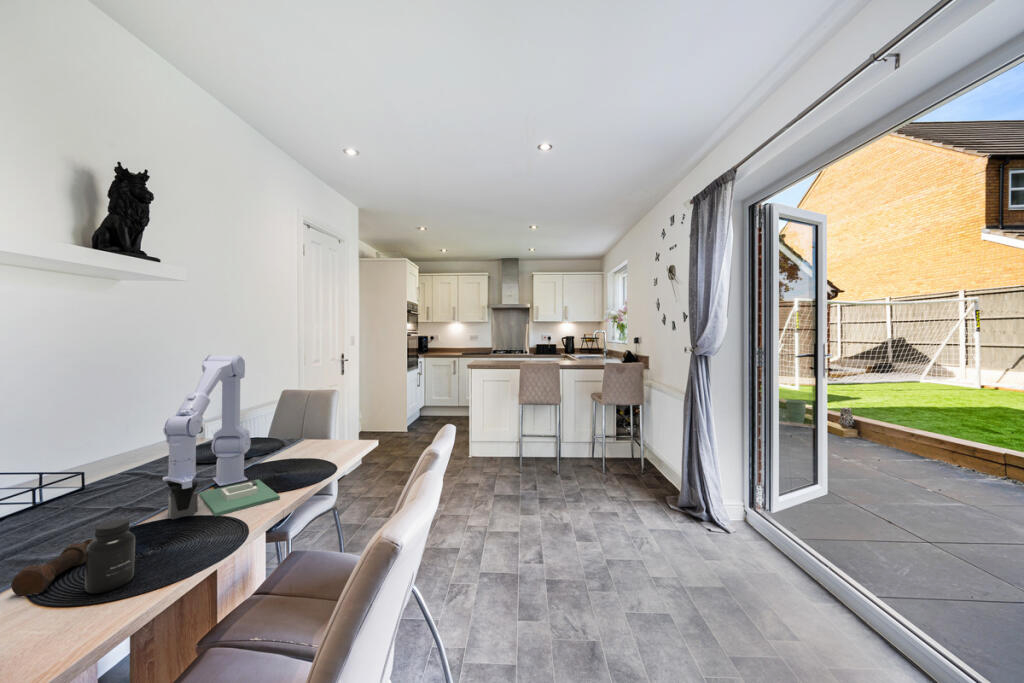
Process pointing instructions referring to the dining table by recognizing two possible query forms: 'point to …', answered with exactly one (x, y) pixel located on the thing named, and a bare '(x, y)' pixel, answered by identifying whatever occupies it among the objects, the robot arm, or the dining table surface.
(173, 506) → the plug
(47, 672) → the dining table surface
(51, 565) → the brown elongated piece
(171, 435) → the robot arm
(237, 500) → the header board
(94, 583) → the supplement bottle
